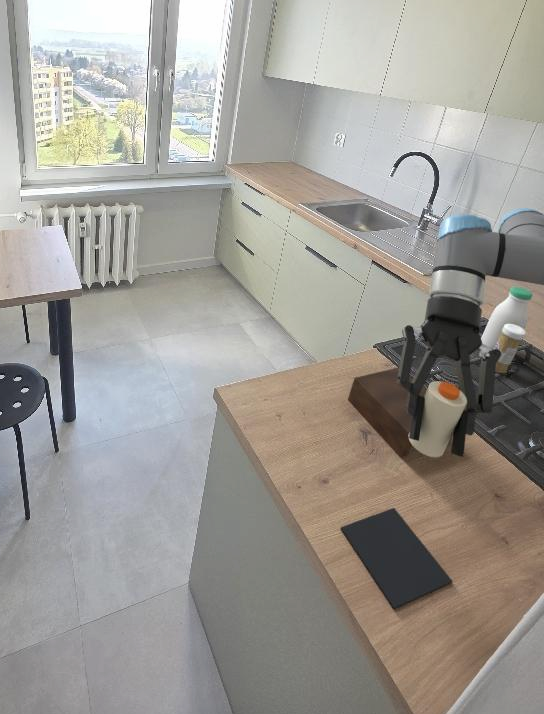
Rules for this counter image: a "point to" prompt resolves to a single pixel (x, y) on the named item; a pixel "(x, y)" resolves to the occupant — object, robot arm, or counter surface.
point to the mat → (395, 557)
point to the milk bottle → (507, 315)
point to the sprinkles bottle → (508, 345)
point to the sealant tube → (439, 417)
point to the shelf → (385, 407)
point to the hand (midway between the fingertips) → (435, 446)
